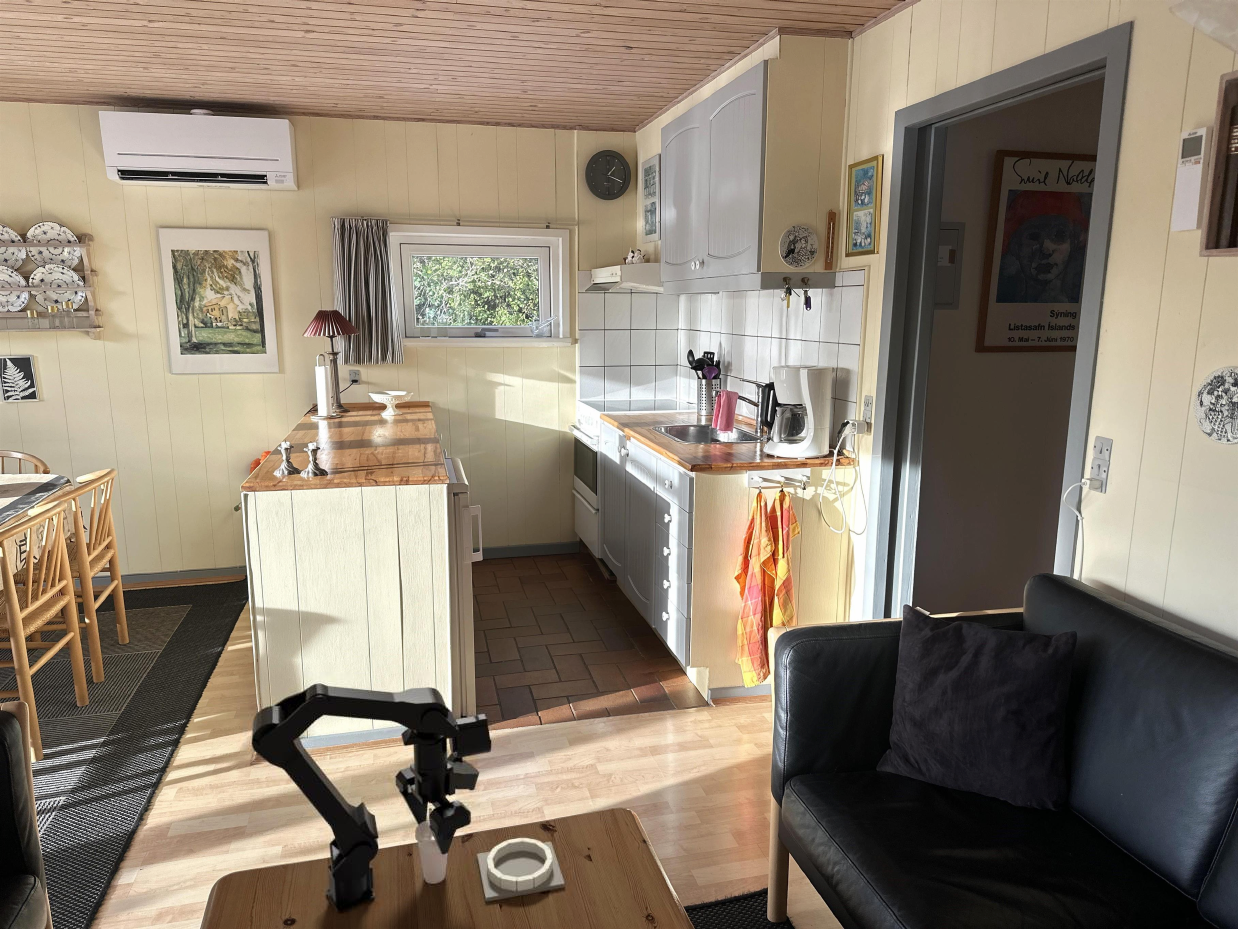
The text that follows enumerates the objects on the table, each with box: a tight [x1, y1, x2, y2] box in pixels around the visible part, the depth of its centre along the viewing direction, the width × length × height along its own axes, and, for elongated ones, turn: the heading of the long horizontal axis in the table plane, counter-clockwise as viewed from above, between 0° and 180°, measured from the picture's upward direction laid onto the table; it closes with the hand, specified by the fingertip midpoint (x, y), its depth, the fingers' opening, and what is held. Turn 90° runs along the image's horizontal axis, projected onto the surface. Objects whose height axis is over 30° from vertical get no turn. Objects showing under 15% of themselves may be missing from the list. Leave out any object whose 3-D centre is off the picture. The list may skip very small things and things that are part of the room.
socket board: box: [476, 837, 566, 902], centre depth 156 cm, size 14×12×3 cm
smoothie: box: [414, 807, 449, 884], centre depth 153 cm, size 6×6×14 cm
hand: (433, 839), depth 153 cm, fingers open, 9 cm apart
